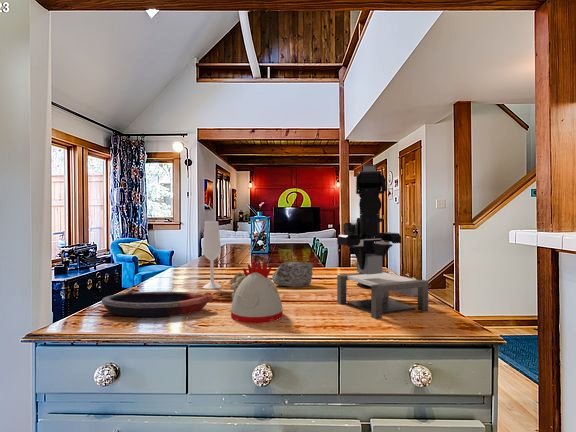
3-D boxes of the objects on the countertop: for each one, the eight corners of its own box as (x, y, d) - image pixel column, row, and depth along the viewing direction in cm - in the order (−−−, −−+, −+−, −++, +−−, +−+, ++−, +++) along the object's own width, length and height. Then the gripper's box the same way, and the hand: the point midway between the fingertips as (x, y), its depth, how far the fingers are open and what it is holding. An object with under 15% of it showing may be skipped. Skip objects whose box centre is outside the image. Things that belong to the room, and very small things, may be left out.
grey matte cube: (371, 270, 116) (371, 253, 116) (382, 273, 111) (382, 255, 111) (357, 271, 114) (357, 254, 114) (367, 274, 109) (367, 256, 109)
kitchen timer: (270, 326, 97) (270, 265, 97) (221, 320, 102) (221, 263, 101) (289, 311, 110) (289, 258, 110) (245, 307, 115) (245, 256, 114)
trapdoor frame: (384, 296, 127) (384, 270, 127) (428, 311, 110) (428, 281, 110) (337, 302, 120) (337, 275, 119) (375, 319, 102) (376, 286, 102)
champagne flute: (199, 286, 144) (198, 221, 143) (215, 284, 148) (214, 220, 147) (209, 289, 139) (208, 221, 138) (225, 286, 143) (224, 221, 142)
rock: (317, 282, 149) (312, 256, 149) (316, 286, 141) (311, 258, 141) (276, 288, 151) (272, 263, 151) (273, 293, 142) (268, 265, 143)
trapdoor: (394, 286, 126) (394, 271, 125) (427, 296, 113) (427, 278, 113) (347, 292, 118) (347, 275, 118) (376, 302, 105) (376, 284, 105)
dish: (116, 304, 119) (116, 288, 119) (217, 305, 118) (217, 289, 118) (89, 319, 103) (89, 301, 103) (204, 320, 102) (204, 301, 102)
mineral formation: (230, 303, 119) (222, 290, 133) (272, 307, 123) (260, 293, 137) (234, 277, 118) (226, 267, 133) (276, 282, 123) (264, 271, 137)
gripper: (378, 213, 123) (378, 262, 124) (327, 214, 116) (327, 267, 116) (402, 214, 113) (402, 268, 114) (348, 215, 106) (348, 272, 106)
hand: (369, 268), depth 113 cm, fingers closed on grey matte cube, 5 cm apart
